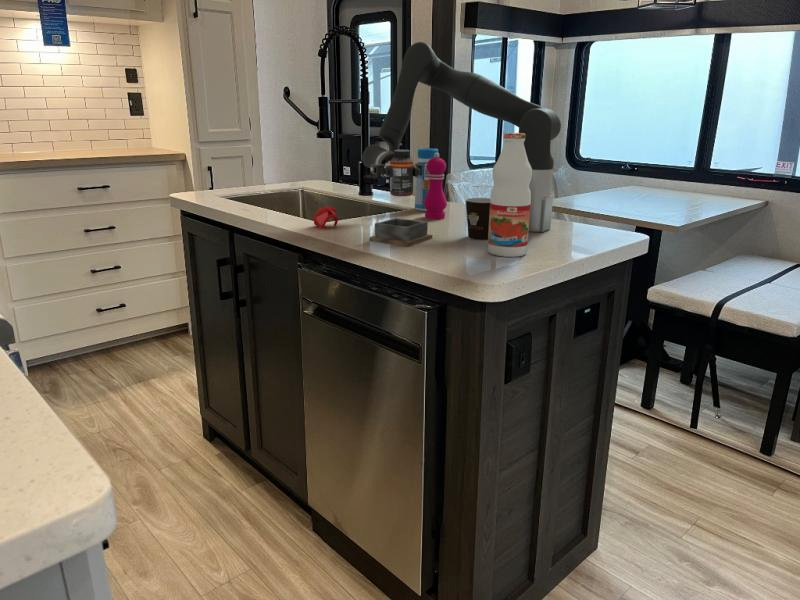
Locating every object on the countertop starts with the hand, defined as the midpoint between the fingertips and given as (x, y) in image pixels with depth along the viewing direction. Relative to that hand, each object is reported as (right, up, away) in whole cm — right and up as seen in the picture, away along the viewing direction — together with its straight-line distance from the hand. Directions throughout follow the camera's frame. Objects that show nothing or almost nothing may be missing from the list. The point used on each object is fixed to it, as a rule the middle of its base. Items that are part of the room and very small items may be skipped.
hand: (403, 172), depth 154 cm
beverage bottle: (+8, -1, +54) cm, 55 cm away
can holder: (-1, -16, +7) cm, 18 cm away
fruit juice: (+25, -21, -6) cm, 33 cm away
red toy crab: (-22, -11, +23) cm, 34 cm away
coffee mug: (+21, -16, +10) cm, 28 cm away
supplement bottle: (-1, -5, +4) cm, 7 cm away
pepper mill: (+10, -6, +39) cm, 41 cm away
